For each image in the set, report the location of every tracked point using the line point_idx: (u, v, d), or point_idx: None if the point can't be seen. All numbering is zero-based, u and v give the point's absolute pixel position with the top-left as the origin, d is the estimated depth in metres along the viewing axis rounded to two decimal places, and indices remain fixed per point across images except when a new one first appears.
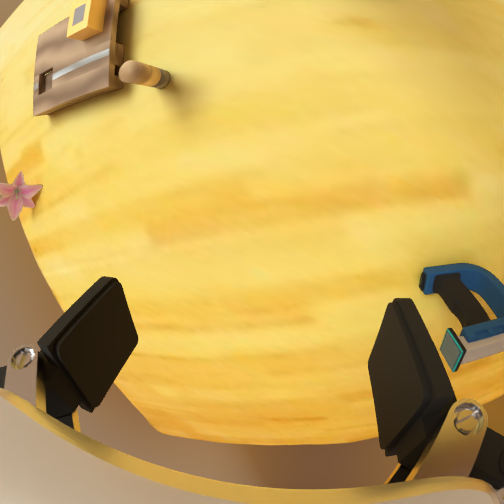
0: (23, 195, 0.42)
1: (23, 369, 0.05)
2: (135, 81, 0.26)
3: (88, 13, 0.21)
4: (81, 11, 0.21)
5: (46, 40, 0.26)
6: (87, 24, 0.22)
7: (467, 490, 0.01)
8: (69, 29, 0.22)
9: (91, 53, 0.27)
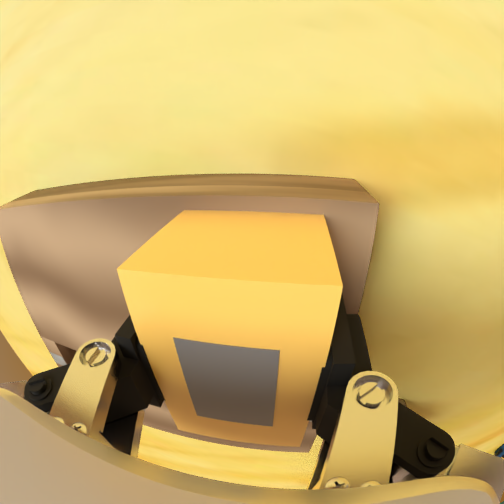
0: None
1: (92, 367, 0.05)
2: None
3: (304, 414, 0.07)
4: (248, 387, 0.06)
5: (25, 251, 0.11)
6: (301, 442, 0.08)
7: (467, 490, 0.01)
8: (183, 417, 0.08)
9: None
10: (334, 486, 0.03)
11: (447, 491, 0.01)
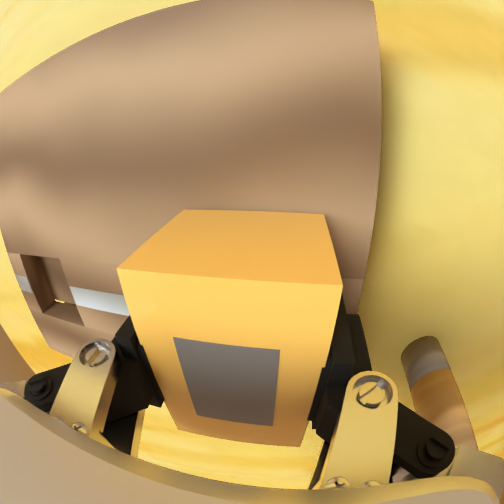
0: None
1: (92, 367, 0.05)
2: None
3: (304, 414, 0.07)
4: (248, 386, 0.06)
5: (6, 132, 0.08)
6: (301, 442, 0.07)
7: (467, 490, 0.01)
8: (183, 416, 0.08)
9: None
10: (334, 486, 0.03)
11: (447, 491, 0.01)
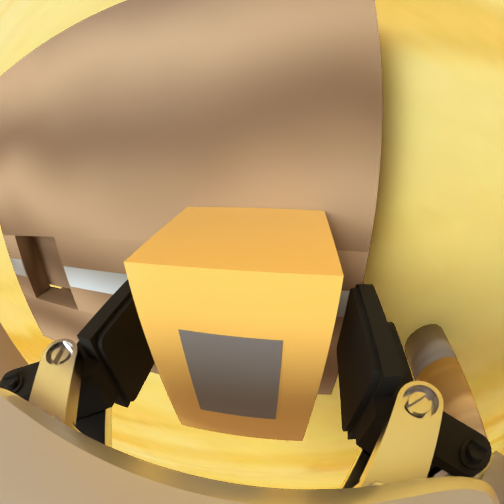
0: None
1: (58, 365, 0.05)
2: None
3: (307, 406, 0.07)
4: (252, 378, 0.06)
5: (7, 111, 0.08)
6: None
7: (467, 490, 0.01)
8: (187, 411, 0.08)
9: None
10: None
11: (447, 491, 0.01)
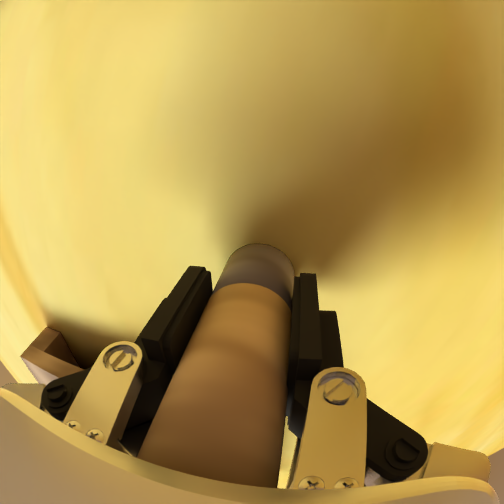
0: None
1: (115, 372, 0.05)
2: (275, 467, 0.04)
3: None
4: None
5: None
6: None
7: (467, 490, 0.01)
8: None
9: None
10: (307, 486, 0.03)
11: (447, 491, 0.01)
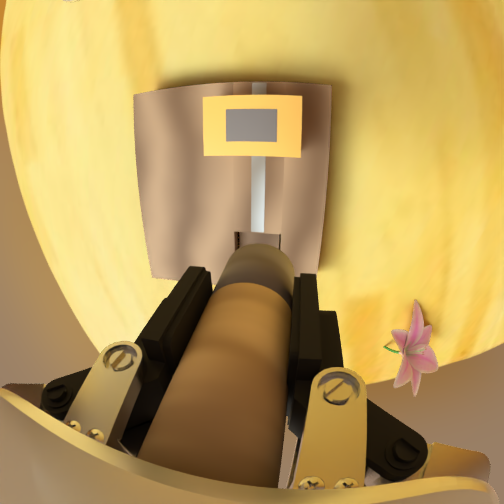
0: (416, 340, 0.30)
1: (115, 372, 0.05)
2: (276, 467, 0.04)
3: (264, 97, 0.17)
4: (246, 118, 0.17)
5: (169, 254, 0.28)
6: None
7: (467, 490, 0.01)
8: (281, 149, 0.18)
9: None
10: (307, 486, 0.03)
11: (447, 491, 0.01)
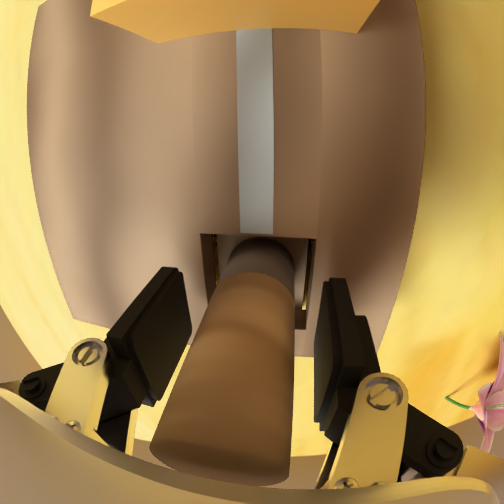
0: (493, 389, 0.14)
1: (84, 367, 0.05)
2: (288, 439, 0.05)
3: None
4: None
5: (85, 282, 0.13)
6: None
7: (467, 490, 0.01)
8: None
9: None
10: (342, 487, 0.03)
11: (447, 491, 0.01)
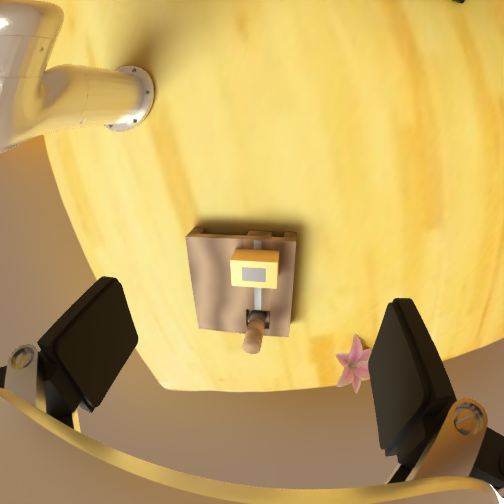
0: (357, 358, 0.53)
1: (23, 369, 0.05)
2: (260, 343, 0.43)
3: (259, 262, 0.40)
4: (251, 271, 0.41)
5: (209, 318, 0.52)
6: (274, 262, 0.40)
7: (467, 490, 0.01)
8: (268, 285, 0.41)
9: None
10: None
11: (447, 491, 0.01)
